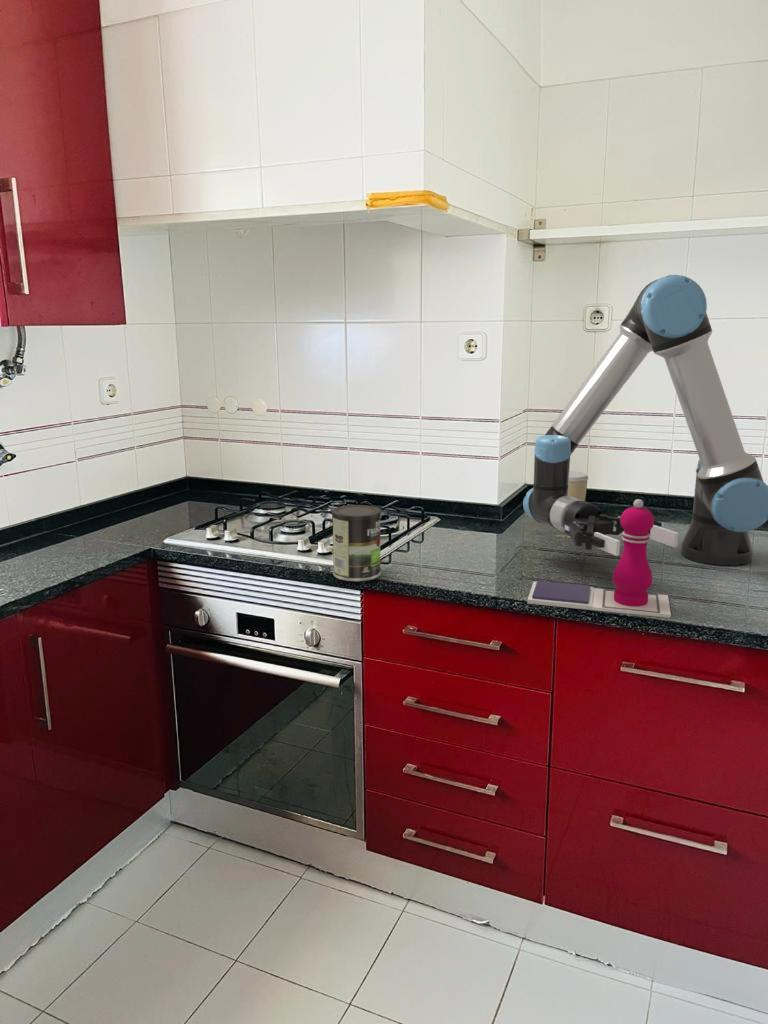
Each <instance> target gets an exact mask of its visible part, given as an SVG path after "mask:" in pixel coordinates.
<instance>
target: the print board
mask: <svg viewBox="0 0 768 1024" xmlns="http://www.w3.org/2000/svg"><path fill="white" fill-rule="evenodd" d="M614 590H615V589H607V588H597V587H596V588H595V587H594V593H593V602H592V610H591V611H598V612H610V613H618V614H628V615H637V616H638V615H639V616H648V617H655V618H657V617H658V618H666V619H667V618H668V619H671V617H672V613H671V607H670V600H669V595H668V594H661V593H660V594H659V593H650V592H647V593H648V603H647V604H646V605H643V606H626V605H622V604H619V603H617V602H616V601H615V600H614Z"/></svg>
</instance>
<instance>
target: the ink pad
mask: <svg viewBox="0 0 768 1024" xmlns="http://www.w3.org/2000/svg"><path fill="white" fill-rule="evenodd" d="M594 588H595V586H590V585H586V584H585V585H584V584H576V583H575V584H573V583H564V582H563V583H562V582H554V581H545V580H544V581H543V580H537V581H533V582H532V586H531V588H530V590H529V594H528V597H527V604H530V605H539V606H547V607H548V606H549V607H550V606H551V607H557V608H569V609H579V610H586V611H588V610H589V611H593V610H592V602H593V593H594Z"/></svg>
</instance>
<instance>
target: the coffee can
mask: <svg viewBox="0 0 768 1024" xmlns="http://www.w3.org/2000/svg"><path fill="white" fill-rule="evenodd" d="M381 514H382V510H381V509H380V507H376V506H372V505H366V504H364V505H363V504H351V505H350V504H349V505H342V506H338V507H337V506H336V507H334V508H333V509H332V510H331V515H332V550H333V551H332V554H333V555H332V556H333V557H332V559H333V563H332V564H333V572H332V575H333V577H335V578H336V579H338V580H342V581H347V582H366V581H371V580H375V579H378V578H379V577H380V576H381V575H382V574H381Z"/></svg>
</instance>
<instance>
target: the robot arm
mask: <svg viewBox="0 0 768 1024" xmlns="http://www.w3.org/2000/svg"><path fill="white" fill-rule="evenodd" d="M707 306H708V303H707V297H706V294H705V291H704V289H703V288H702V287H701V286H700V285H699V284H698V283H697V282H696V280H693V279H692V278H689V277H687V276H685V275H682V274H681V275H679V274H668V275H666V276H662V277H660V278H658V279H655V280H653V281H651V282H650V283H648V284H647V285H646V286H645V287H643V289H642V290H641V291H640V292H639V294H638V296H637V297H636V299H635V301H634V303H633V305H632V307H631V308H630V309H629V312H628V313H627V314H626V316H625V318H624V320H623V321H622V322H621V323H620V325H619V334H618V335H617V337H616V338H615V339H614V340H613V342H612V343H611V345H610V346H609V347H608V349H607V350H606V351H605V353H604V354H603V356H602V357H601V358H600V359H599V361H598V362H597V364H596V365H595V366H594V367H593V369H592V371H590V373H589V374H588V376H587V377H586V379H585V380H584V381H583V382H582V384H581V385H580V387H579V388H578V389H577V391H576V392H575V393H574V395H573V396H572V398H571V399H570V400H569V401H568V403H567V404H566V406H565V407H564V408H563V410H562V411H561V412H560V414H559V415H558V416H557V418H556V419H555V420H554V422H553V423H552V425H551V426H550V427H549V429H548V430H547V431H546V433H545V434H544V435H540V436H538V437H537V438H536V439H535V447H534V460H533V461H534V462H533V466H534V467H533V483H532V484H533V485H532V488H531V489H529V490H528V491H527V492H526V494H525V495H524V498H523V501H522V506H523V507H522V508H523V511H524V513H525V514H526V516H527V517H528V518H530V519H531V520H532V519H533V520H534V521H536V522H537V523H540V524H541V525H546V526H548V527H551V528H554V529H556V530H558V531H561V532H563V533H564V534H565V535H568V536H569V538H570V539H571V540H572V542H573V544H574V545H575V546H576V547H581V546H582V545H583V544H584V549H585V550H589V551H591V550H592V548H593V547H594V548H596V549H598V550H601V551H603V552H606V553H608V554H610V555H614V556H616V557H618V556H620V550H621V540H620V539H619V540H618V539H616V538H613V537H611V536H619V535H620V534H622V532H623V531H624V529H623V527H622V526H621V523H620V519H621V515H622V514H615V515H614V516H609V515H608V514H603V513H602V512H601V510H600V508H599V506H597V505H595V504H593V503H590V502H587V501H586V500H585V501H582V500H580V499H576V498H573V497H570V496H568V480H569V471H570V465H571V456H572V454H573V453H574V451H575V450H576V449H577V448H578V446H579V445H580V443H581V442H582V441H583V439H584V438H585V436H586V435H587V434H588V433H589V432H590V430H591V429H592V427H593V426H594V424H595V423H596V422H597V421H598V420H599V418H600V417H601V416H602V414H603V413H604V411H606V409H607V408H608V406H609V405H610V404H611V403H612V401H613V400H614V399H615V397H616V396H617V394H619V392H620V391H621V389H622V388H623V387H624V385H625V384H626V383H627V382H628V380H629V379H630V377H632V375H633V374H634V373H635V372H636V370H637V368H638V367H639V366H640V365H641V363H642V362H643V361H644V360H645V358H646V357H647V356H648V354H649V353H651V352H653V354H655V356H656V355H657V356H659V357H661V358H663V359H664V361H665V364H666V367H667V369H668V374H669V377H670V379H671V381H672V385H673V388H674V390H675V393H676V396H677V399H678V401H679V404H680V406H681V410H682V413H683V415H684V419H685V422H686V424H687V428H688V430H689V432H690V435H691V439H692V442H693V444H694V447H695V450H696V452H697V455H698V458H699V459H698V462H697V467H696V469H695V472H696V473H695V475H696V476H695V485H694V486H695V487H694V495H693V507H692V517H691V522H690V525H689V526H688V529H687V531H686V533H685V536H684V537H683V539H682V542H681V545H680V554H681V555H682V556H683V557H684V556H685V557H684V558H686V557H687V558H686V559H688V558H689V560H692V561H695V562H698V563H702V564H708V565H714V564H716V565H717V566H728V565H731V566H741V565H740V564H743V565H746V563H747V564H748V563H751V562H752V559H753V546H752V542H751V539H750V534H749V531H753V530H755V529H757V528H758V529H759V527H761V526H762V525H764V524H765V523H766V522H767V521H768V484H766V482H764V479H763V476H762V474H761V473H762V472H761V470H760V467H759V464H758V461H757V458H756V456H754V455H752V454H751V453H750V454H749V453H747V452H746V451H745V449H744V446H743V443H742V439H741V436H740V434H739V431H738V428H737V425H736V422H735V419H734V416H733V413H732V410H731V407H730V404H729V401H728V399H727V395H726V393H725V390H724V387H723V384H722V381H721V378H720V375H719V372H718V369H717V366H716V363H715V360H714V357H713V355H712V352H711V348H710V346H709V343H708V342H709V339H710V337H711V335H712V333H713V329H712V325H711V322H710V320H709V316H708V314H707ZM662 526H663V523H662V522H660V521H658V520H657V519H654V525H653V528H652V529H651V530H650V531H649V532H648V533H649V534H650V536H649V539H650V540H653V541H655V542H659V543H660V544H664V545H666V546H668V547H669V546H670V547H672V548H677V547H678V541H679V532H677V531H674V530H671V529H668V528H665V527H662ZM614 528H615V530H614ZM608 535H611V536H608ZM582 547H583V546H582ZM716 565H715V566H716Z"/></svg>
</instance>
